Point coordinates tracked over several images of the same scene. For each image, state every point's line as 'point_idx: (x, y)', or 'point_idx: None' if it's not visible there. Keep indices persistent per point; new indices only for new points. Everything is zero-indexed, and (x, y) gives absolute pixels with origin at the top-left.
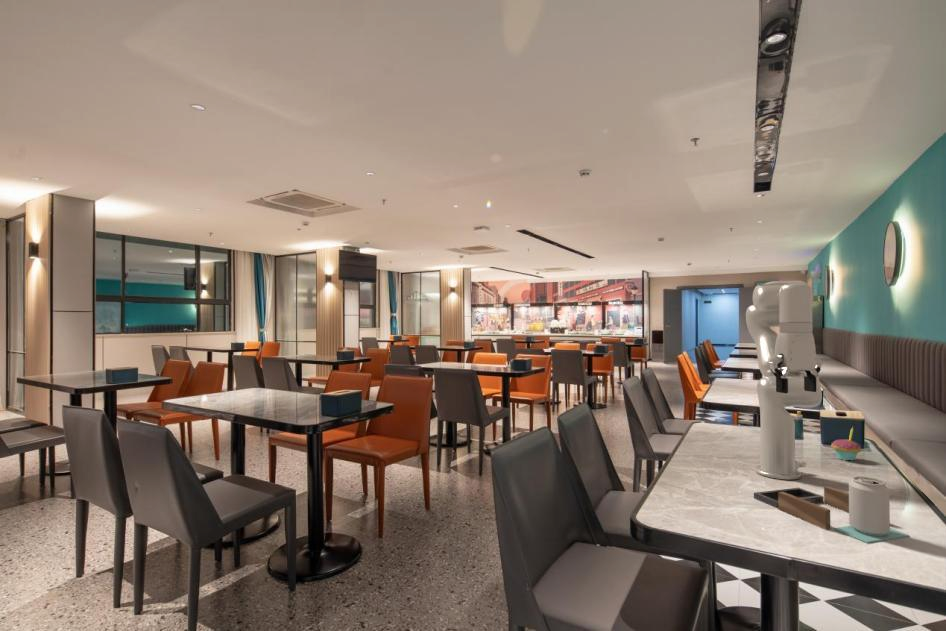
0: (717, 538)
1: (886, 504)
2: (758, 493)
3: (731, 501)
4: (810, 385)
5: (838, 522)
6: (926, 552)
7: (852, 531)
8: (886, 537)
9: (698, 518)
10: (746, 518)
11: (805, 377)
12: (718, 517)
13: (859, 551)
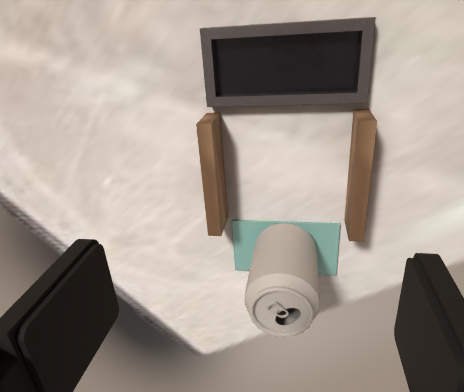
0: (11, 191)
1: (284, 311)
2: (208, 38)
3: (129, 36)
4: (413, 350)
5: (272, 199)
6: None
7: (251, 239)
8: None
9: (9, 111)
10: (104, 136)
11: (452, 384)
12: (51, 117)
13: (198, 280)
